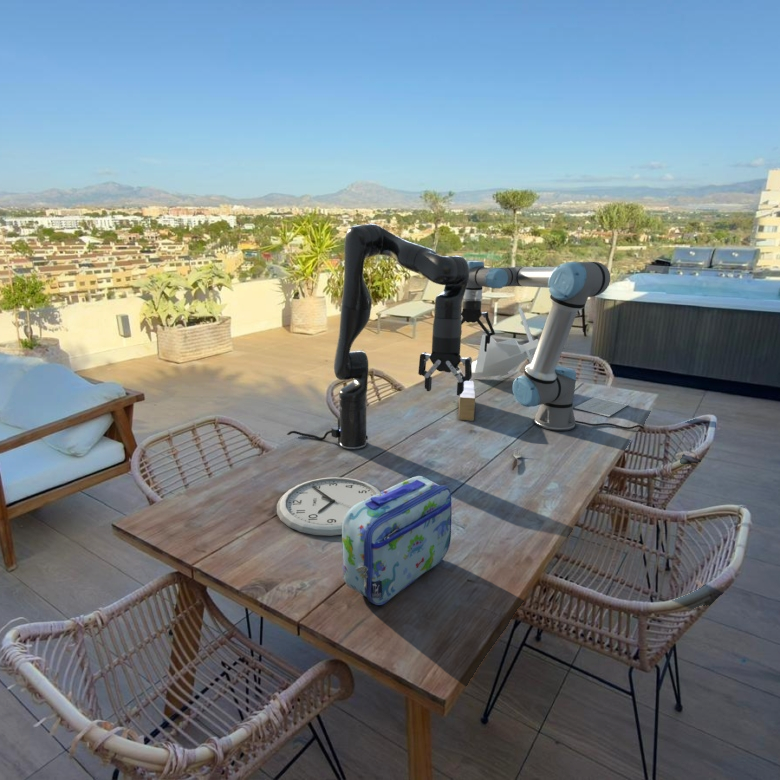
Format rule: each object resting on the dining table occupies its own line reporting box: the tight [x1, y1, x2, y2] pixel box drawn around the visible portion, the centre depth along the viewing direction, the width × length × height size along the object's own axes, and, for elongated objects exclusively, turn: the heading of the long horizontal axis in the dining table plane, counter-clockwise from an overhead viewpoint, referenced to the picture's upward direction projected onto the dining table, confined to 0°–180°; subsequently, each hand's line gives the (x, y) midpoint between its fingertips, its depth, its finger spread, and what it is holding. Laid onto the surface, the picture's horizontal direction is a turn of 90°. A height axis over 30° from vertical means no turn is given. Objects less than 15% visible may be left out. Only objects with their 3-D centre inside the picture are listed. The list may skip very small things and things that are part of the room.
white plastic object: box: [471, 307, 540, 379], centre depth 257 cm, size 37×45×31 cm
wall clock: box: [276, 476, 382, 537], centre depth 142 cm, size 30×2×30 cm
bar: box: [458, 380, 476, 422], centre depth 218 cm, size 24×6×9 cm, turn 173°
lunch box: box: [341, 475, 453, 606], centre depth 111 cm, size 26×11×21 cm, turn 134°
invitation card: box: [573, 396, 629, 418], centre depth 226 cm, size 21×1×15 cm
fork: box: [512, 447, 523, 471], centre depth 171 cm, size 3×16×2 cm, turn 160°
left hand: (443, 392), depth 143 cm, fingers open, 8 cm apart
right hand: (469, 350), depth 220 cm, fingers open, 13 cm apart
